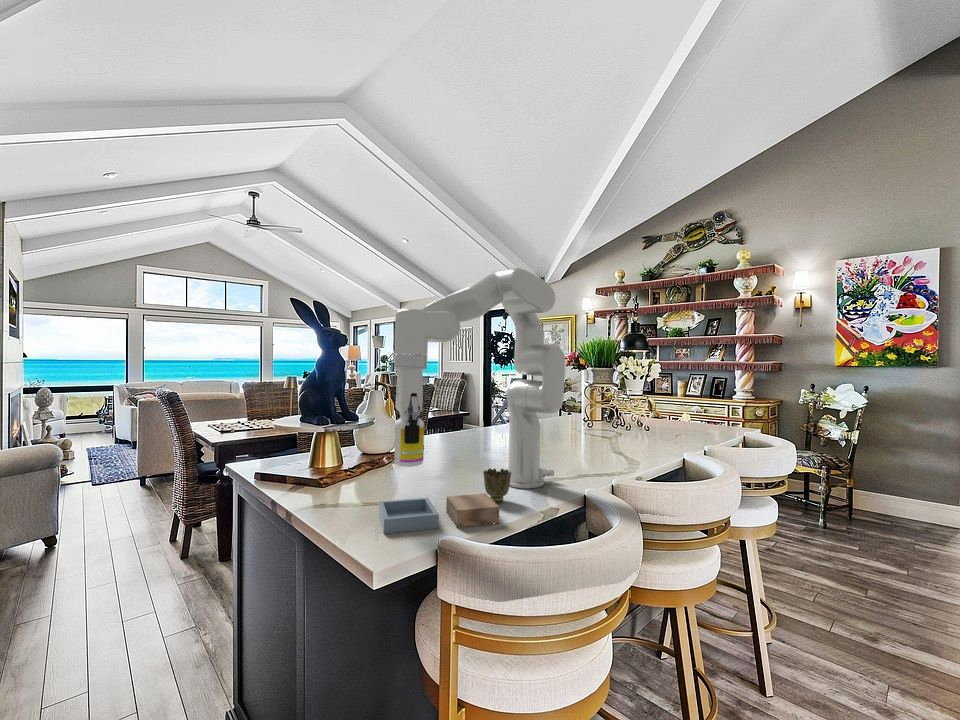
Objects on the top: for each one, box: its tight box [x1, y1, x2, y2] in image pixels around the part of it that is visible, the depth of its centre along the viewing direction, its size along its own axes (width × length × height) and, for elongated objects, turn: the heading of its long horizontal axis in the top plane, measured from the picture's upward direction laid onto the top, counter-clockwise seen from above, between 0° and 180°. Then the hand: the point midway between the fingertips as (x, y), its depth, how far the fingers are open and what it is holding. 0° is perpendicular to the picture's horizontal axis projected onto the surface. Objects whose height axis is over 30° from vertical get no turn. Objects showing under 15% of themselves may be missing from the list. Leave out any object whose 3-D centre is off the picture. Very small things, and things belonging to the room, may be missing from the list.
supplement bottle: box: [394, 408, 425, 468], centre depth 102 cm, size 7×7×13 cm
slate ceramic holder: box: [378, 497, 440, 535], centre depth 102 cm, size 12×12×3 cm
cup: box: [483, 468, 511, 504], centre depth 118 cm, size 8×7×8 cm
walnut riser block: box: [445, 493, 500, 528], centre depth 105 cm, size 10×10×4 cm
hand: (409, 439), depth 102 cm, fingers closed on supplement bottle, 6 cm apart
